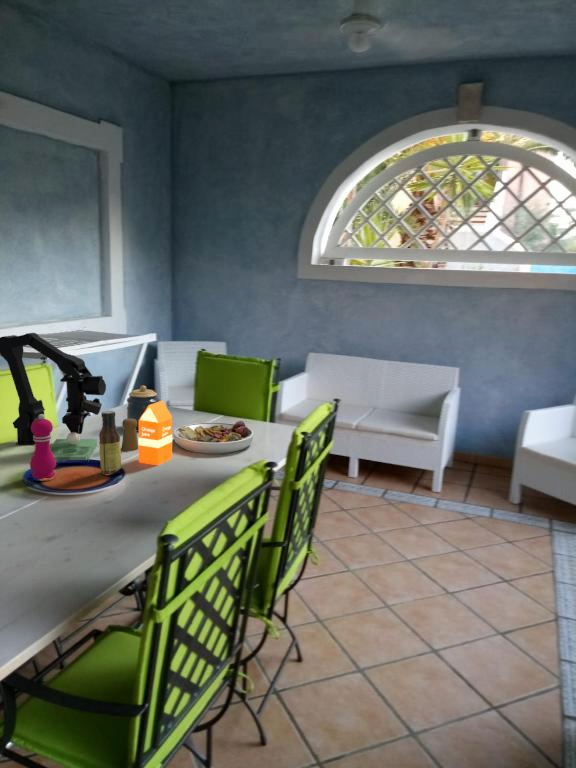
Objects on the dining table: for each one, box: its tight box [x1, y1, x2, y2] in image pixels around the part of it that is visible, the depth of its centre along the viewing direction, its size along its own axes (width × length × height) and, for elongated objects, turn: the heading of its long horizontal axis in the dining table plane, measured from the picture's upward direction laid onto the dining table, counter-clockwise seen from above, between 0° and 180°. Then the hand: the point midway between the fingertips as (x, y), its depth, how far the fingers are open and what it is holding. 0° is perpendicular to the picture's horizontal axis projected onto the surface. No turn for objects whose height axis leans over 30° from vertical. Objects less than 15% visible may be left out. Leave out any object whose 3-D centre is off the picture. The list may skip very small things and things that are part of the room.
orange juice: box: [138, 400, 173, 466], centre depth 193 cm, size 8×9×20 cm
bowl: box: [173, 420, 255, 455], centre depth 216 cm, size 30×30×8 cm
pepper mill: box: [29, 414, 57, 479], centre depth 171 cm, size 7×7×20 cm
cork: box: [120, 418, 139, 452], centre depth 206 cm, size 6×6×11 cm
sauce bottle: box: [98, 410, 122, 475], centre depth 178 cm, size 6×6×20 cm
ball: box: [65, 432, 81, 445], centre depth 199 cm, size 4×4×4 cm
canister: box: [126, 385, 160, 430], centre depth 234 cm, size 13×13×18 cm
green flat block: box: [50, 438, 98, 461], centre depth 196 cm, size 21×14×2 cm, turn 9°
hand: (78, 436), depth 205 cm, fingers open, 6 cm apart
